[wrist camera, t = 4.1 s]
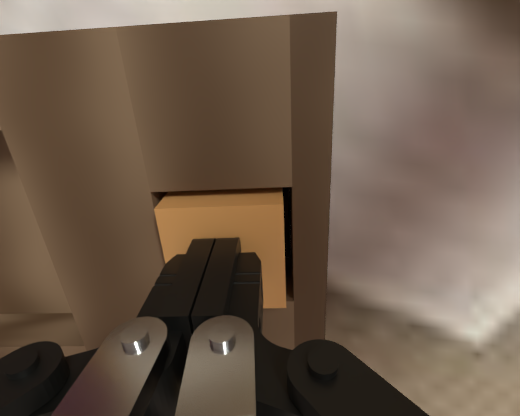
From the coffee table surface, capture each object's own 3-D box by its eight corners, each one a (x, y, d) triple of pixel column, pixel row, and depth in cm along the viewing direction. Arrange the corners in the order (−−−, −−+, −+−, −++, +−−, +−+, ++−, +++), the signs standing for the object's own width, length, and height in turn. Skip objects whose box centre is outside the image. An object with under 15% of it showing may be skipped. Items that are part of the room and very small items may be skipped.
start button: (281, 173, 12) (283, 204, 10) (283, 260, 14) (286, 308, 11) (180, 177, 13) (153, 208, 10) (194, 262, 14) (175, 309, 11)
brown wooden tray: (321, 25, 11) (337, 11, 8) (314, 333, 16) (322, 386, 14) (-213, 61, 12) (-358, 60, 9) (-47, 337, 18) (-105, 386, 15)
